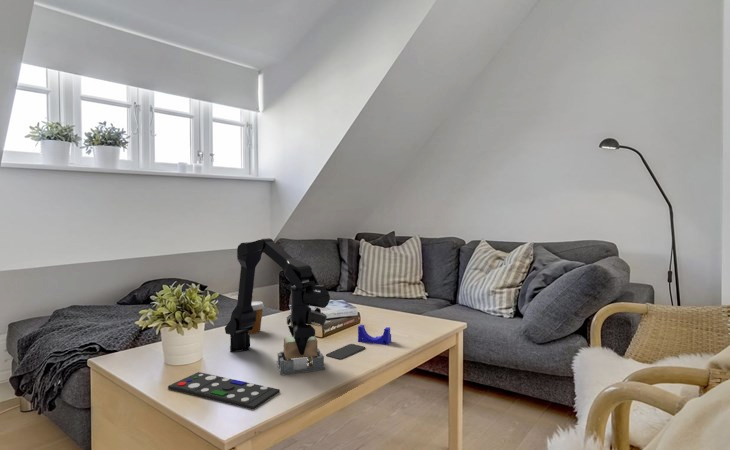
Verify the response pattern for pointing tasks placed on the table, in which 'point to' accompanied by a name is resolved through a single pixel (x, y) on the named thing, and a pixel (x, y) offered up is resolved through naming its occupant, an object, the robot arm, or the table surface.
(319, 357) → the chassis
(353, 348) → the phone
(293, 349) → the brown and green block
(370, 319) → the table surface
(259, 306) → the disposable coffee cup
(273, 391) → the remote control
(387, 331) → the blue u-shaped cradle
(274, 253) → the robot arm
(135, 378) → the table surface
